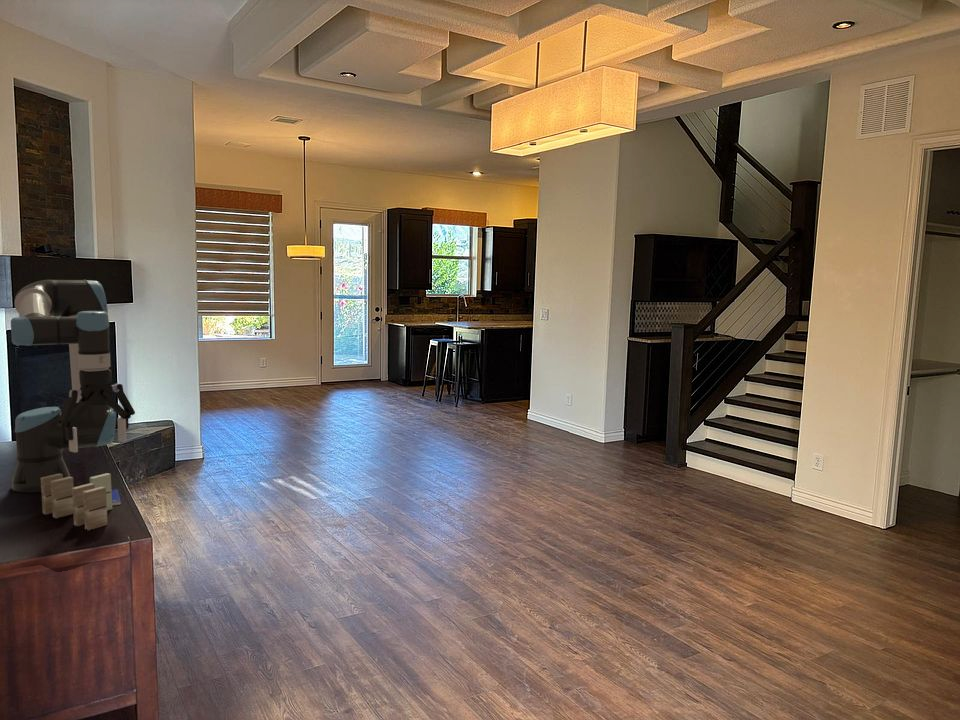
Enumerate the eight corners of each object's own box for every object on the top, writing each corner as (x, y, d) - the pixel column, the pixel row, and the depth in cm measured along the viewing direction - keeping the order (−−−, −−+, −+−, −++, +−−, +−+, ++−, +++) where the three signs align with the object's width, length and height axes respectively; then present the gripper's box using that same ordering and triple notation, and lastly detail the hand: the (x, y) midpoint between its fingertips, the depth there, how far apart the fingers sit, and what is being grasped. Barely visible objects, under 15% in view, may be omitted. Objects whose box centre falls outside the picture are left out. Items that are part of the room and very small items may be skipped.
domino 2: (52, 517, 188) (50, 481, 187) (71, 511, 192) (69, 476, 191) (56, 518, 187) (54, 482, 186) (75, 513, 191) (73, 477, 190)
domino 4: (91, 512, 192) (89, 477, 190) (108, 507, 196) (107, 473, 195) (94, 514, 191) (92, 478, 190) (112, 508, 195) (110, 474, 194)
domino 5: (84, 529, 180) (83, 491, 179) (103, 523, 185) (102, 486, 183) (88, 530, 179) (86, 492, 178) (107, 524, 184) (105, 487, 182)
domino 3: (73, 525, 183) (72, 487, 181) (92, 519, 187) (91, 483, 186) (77, 526, 182) (75, 489, 181) (96, 520, 186) (94, 484, 185)
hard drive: (120, 500, 199) (117, 488, 209) (87, 505, 195) (86, 492, 205) (120, 506, 199) (117, 493, 210) (87, 510, 195) (86, 497, 205)
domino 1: (42, 513, 190) (40, 477, 189) (61, 508, 195) (59, 473, 193) (46, 514, 190) (43, 478, 188) (64, 509, 194) (62, 474, 192)
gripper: (54, 375, 176) (59, 458, 178) (146, 365, 197) (149, 439, 200) (38, 373, 179) (43, 453, 182) (130, 362, 201) (133, 435, 203)
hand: (98, 446), depth 191 cm, fingers open, 13 cm apart
